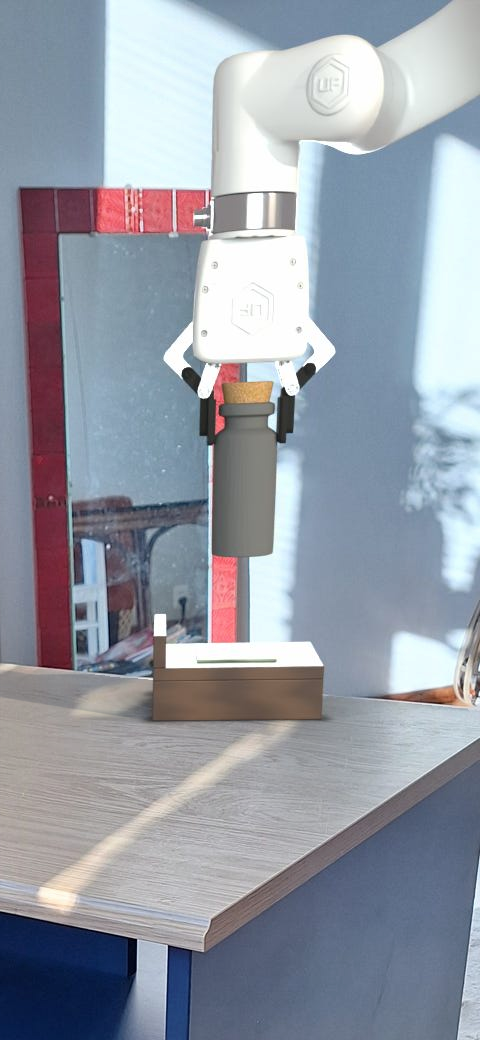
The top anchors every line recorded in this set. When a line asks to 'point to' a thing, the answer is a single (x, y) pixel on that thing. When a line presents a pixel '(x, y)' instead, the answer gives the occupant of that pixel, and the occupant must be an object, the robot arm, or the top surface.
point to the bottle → (244, 472)
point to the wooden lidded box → (235, 680)
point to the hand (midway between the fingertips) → (245, 441)
